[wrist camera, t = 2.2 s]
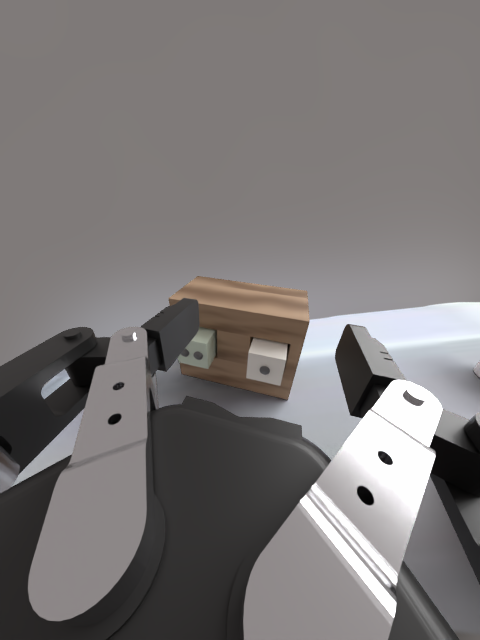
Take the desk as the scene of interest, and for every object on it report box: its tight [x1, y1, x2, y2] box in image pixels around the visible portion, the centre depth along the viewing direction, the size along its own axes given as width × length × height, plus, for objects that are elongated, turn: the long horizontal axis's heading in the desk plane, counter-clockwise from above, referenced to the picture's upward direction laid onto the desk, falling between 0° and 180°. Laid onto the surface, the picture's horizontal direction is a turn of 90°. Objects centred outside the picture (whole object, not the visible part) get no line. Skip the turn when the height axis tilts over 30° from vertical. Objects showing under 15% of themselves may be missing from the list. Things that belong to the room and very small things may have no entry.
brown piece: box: [169, 276, 309, 400], centre depth 35 cm, size 10×20×16 cm, turn 75°
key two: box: [178, 327, 217, 369], centre depth 31 cm, size 6×5×5 cm
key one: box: [246, 337, 288, 386], centre depth 29 cm, size 6×5×5 cm
